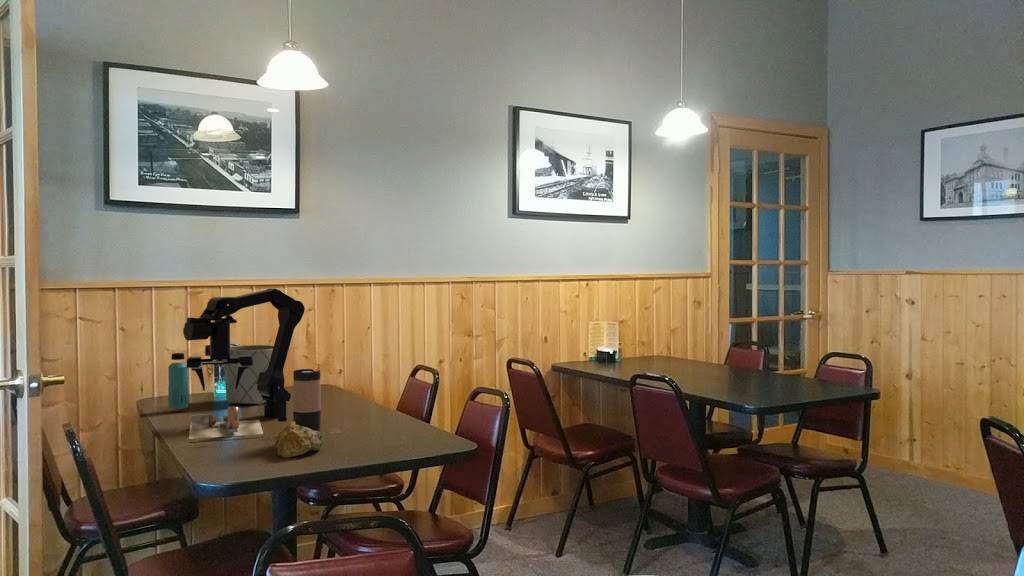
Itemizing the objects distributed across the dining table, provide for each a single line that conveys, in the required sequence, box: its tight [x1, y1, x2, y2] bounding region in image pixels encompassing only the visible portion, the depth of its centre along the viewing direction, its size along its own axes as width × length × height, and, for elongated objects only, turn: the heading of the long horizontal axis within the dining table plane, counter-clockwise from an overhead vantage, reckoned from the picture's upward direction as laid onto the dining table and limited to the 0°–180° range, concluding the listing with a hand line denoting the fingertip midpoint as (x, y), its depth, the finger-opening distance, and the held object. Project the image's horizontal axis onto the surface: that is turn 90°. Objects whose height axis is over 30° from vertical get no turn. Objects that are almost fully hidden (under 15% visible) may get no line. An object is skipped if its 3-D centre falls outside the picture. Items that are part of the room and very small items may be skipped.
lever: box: [220, 406, 240, 433], centre depth 232 cm, size 21×3×7 cm, turn 26°
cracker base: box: [188, 413, 264, 444], centre depth 233 cm, size 20×22×5 cm
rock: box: [274, 421, 326, 459], centre depth 207 cm, size 12×9×10 cm
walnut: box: [208, 414, 217, 427], centre depth 236 cm, size 4×4×4 cm
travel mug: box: [292, 368, 322, 432], centre depth 224 cm, size 8×8×20 cm
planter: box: [223, 344, 274, 406], centre depth 285 cm, size 19×19×20 cm
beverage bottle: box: [167, 352, 190, 410], centre depth 266 cm, size 6×7×20 cm
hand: (220, 389), depth 238 cm, fingers open, 9 cm apart
